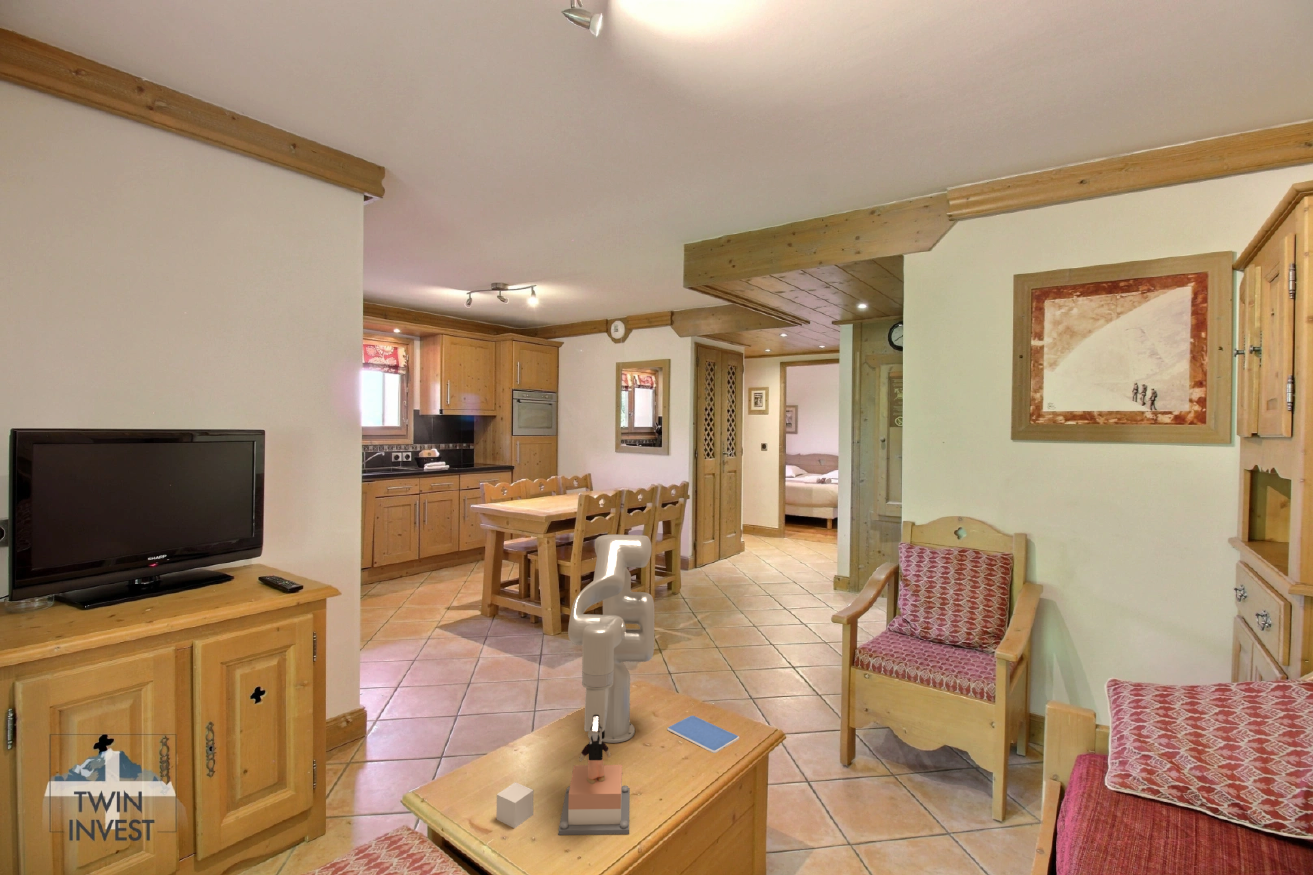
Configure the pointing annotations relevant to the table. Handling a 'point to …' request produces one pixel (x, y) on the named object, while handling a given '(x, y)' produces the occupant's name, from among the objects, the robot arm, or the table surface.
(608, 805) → the pink framed box
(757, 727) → the table surface
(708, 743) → the tablet computer
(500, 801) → the white cube
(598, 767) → the grandmother figurine
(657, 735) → the table surface
